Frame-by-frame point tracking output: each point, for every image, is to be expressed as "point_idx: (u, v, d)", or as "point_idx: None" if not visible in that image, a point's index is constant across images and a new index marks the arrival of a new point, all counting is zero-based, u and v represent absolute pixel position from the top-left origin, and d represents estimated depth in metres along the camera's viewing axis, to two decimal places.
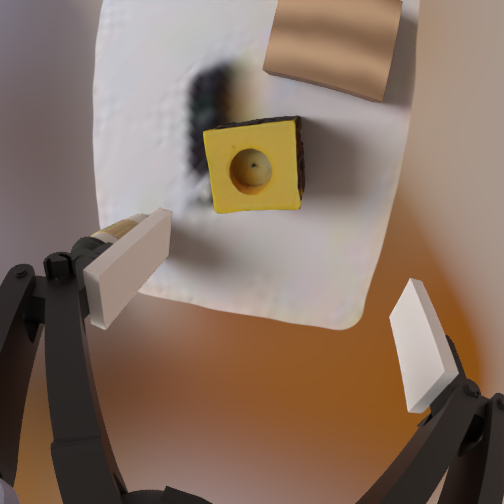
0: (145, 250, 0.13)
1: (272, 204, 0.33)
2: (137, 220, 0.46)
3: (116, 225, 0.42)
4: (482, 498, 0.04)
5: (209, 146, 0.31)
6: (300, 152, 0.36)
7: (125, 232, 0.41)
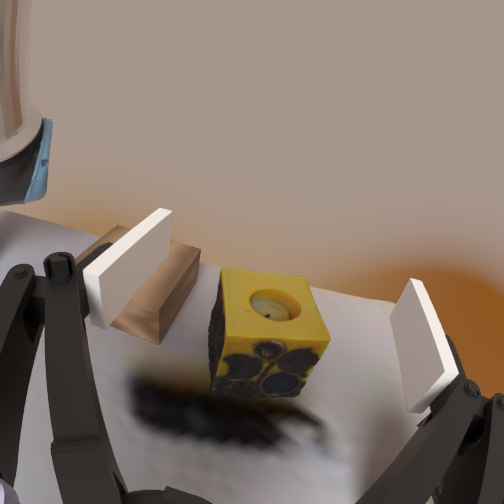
0: (145, 250, 0.13)
1: (306, 293, 0.32)
2: None
3: None
4: (482, 498, 0.04)
5: (246, 331, 0.25)
6: None
7: None
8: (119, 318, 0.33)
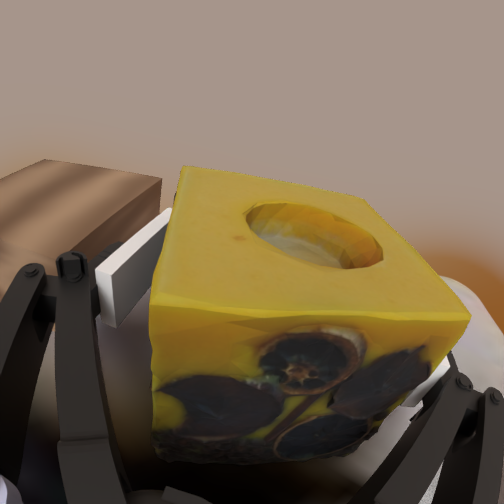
0: (155, 249, 0.14)
1: (377, 220, 0.13)
2: None
3: None
4: (478, 494, 0.04)
5: (230, 292, 0.07)
6: None
7: None
8: None
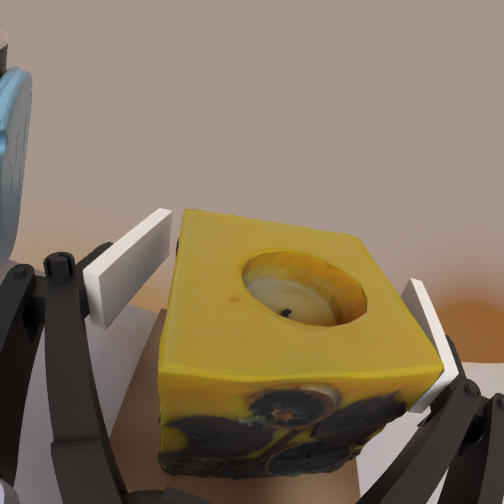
0: (145, 250, 0.13)
1: (367, 263, 0.14)
2: None
3: None
4: (482, 498, 0.04)
5: (224, 360, 0.08)
6: None
7: None
8: None
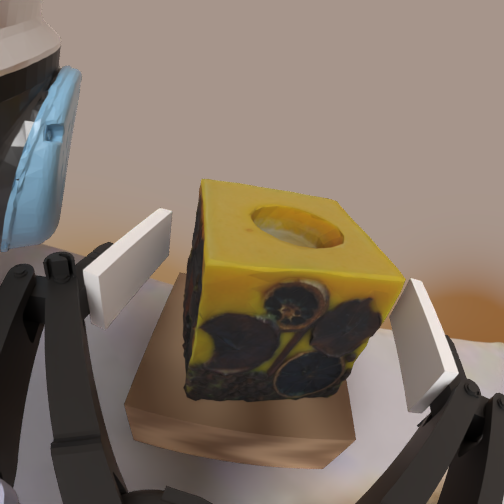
0: (145, 250, 0.13)
1: (344, 216, 0.19)
2: None
3: None
4: (482, 498, 0.04)
5: (248, 259, 0.12)
6: None
7: None
8: (260, 456, 0.17)
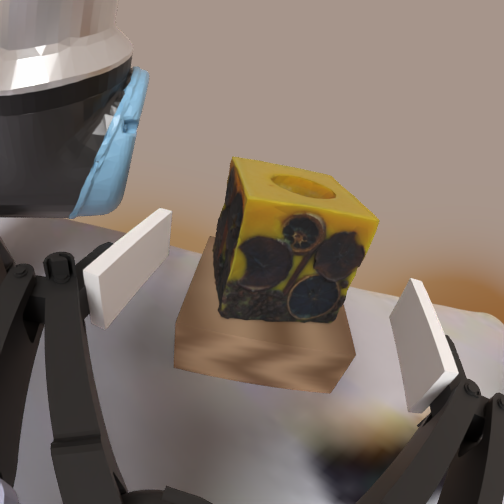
0: (145, 250, 0.13)
1: (336, 185, 0.25)
2: None
3: None
4: (482, 498, 0.04)
5: (273, 198, 0.19)
6: None
7: None
8: (279, 374, 0.24)
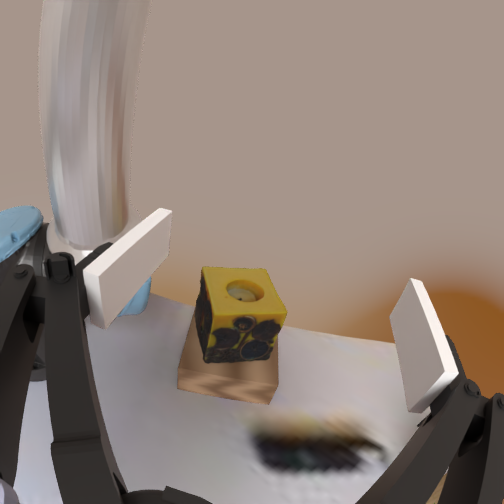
0: (145, 250, 0.13)
1: (267, 280, 0.44)
2: None
3: (435, 501, 0.22)
4: (482, 498, 0.04)
5: (227, 311, 0.36)
6: None
7: (439, 485, 0.24)
8: (236, 393, 0.41)
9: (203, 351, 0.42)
